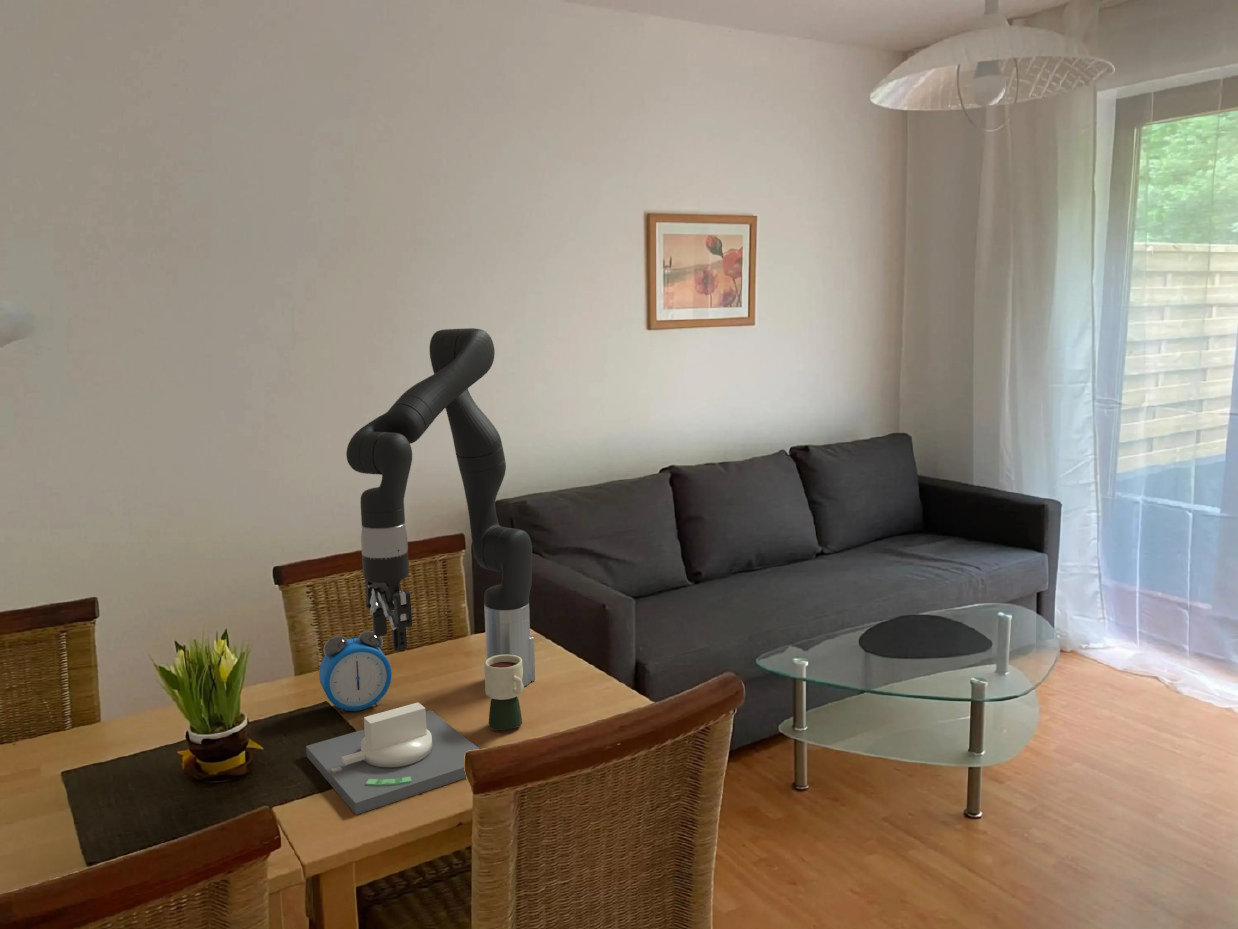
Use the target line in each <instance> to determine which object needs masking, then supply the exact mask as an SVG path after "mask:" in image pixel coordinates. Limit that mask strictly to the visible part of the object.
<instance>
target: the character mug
mask: <svg viewBox="0 0 1238 929" xmlns="http://www.w3.org/2000/svg"><path fill="white" fill-rule="evenodd" d="M522 677H523V667H522V659H521V658H520V657H519V656H515V655H497V656H493V657H490V658H488V659H487V660H484V687H485V688H484V690H485V695H486V697H488V698H490V704H489V712H488V726H489V728H491V729H492V730H494V731H506V730H507V731H508V730H511V729H515V728H519V727H521V726H522V725H523V718H522V710H521V706H520V701H519V698H518V697H519V696H520V695H521V694H522V692H523V691H524V687H525V686H523V683H522Z"/></svg>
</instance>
